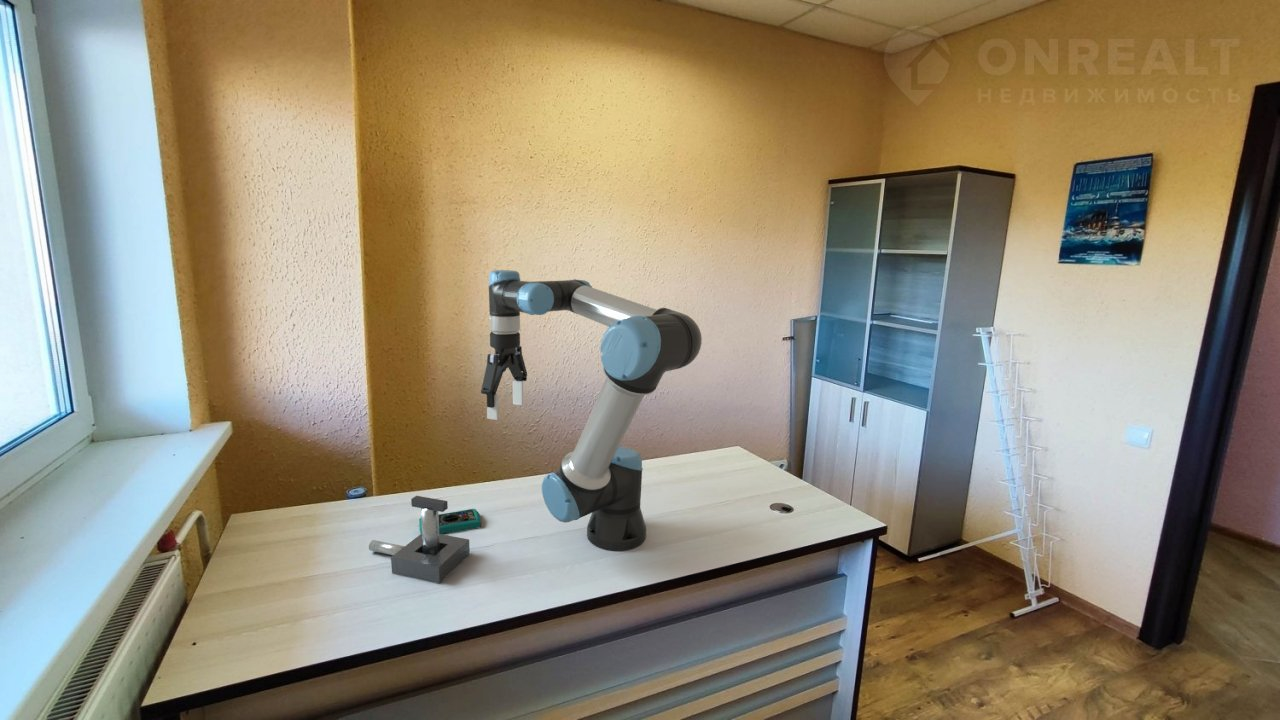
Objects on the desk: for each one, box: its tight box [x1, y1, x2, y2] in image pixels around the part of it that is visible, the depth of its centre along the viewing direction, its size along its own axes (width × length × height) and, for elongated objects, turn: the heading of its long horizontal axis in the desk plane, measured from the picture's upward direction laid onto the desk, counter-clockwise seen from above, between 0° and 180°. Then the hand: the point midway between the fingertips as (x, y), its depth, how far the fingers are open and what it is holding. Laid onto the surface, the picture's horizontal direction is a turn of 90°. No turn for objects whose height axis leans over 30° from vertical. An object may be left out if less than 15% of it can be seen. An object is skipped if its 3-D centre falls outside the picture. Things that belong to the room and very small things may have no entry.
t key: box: [410, 495, 449, 556], centre depth 129 cm, size 8×4×16 cm, turn 75°
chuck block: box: [368, 533, 471, 584], centre depth 131 cm, size 22×12×4 cm, turn 75°
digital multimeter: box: [418, 508, 481, 535], centre depth 147 cm, size 7×15×3 cm, turn 116°
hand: (505, 411), depth 150 cm, fingers open, 13 cm apart
